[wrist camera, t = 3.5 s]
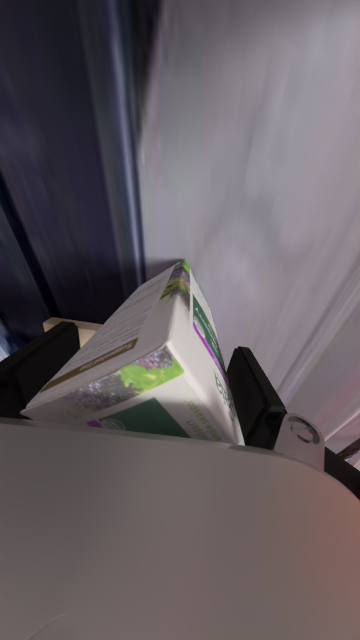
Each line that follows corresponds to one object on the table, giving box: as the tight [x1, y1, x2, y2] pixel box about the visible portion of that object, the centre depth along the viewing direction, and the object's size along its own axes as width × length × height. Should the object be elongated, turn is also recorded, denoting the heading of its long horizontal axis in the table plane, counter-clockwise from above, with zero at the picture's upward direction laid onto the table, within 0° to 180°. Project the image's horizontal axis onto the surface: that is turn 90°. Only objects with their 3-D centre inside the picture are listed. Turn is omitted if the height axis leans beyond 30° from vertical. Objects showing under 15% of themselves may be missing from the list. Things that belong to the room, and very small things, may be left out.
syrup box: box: [20, 259, 245, 445], centre depth 12 cm, size 6×6×14 cm
